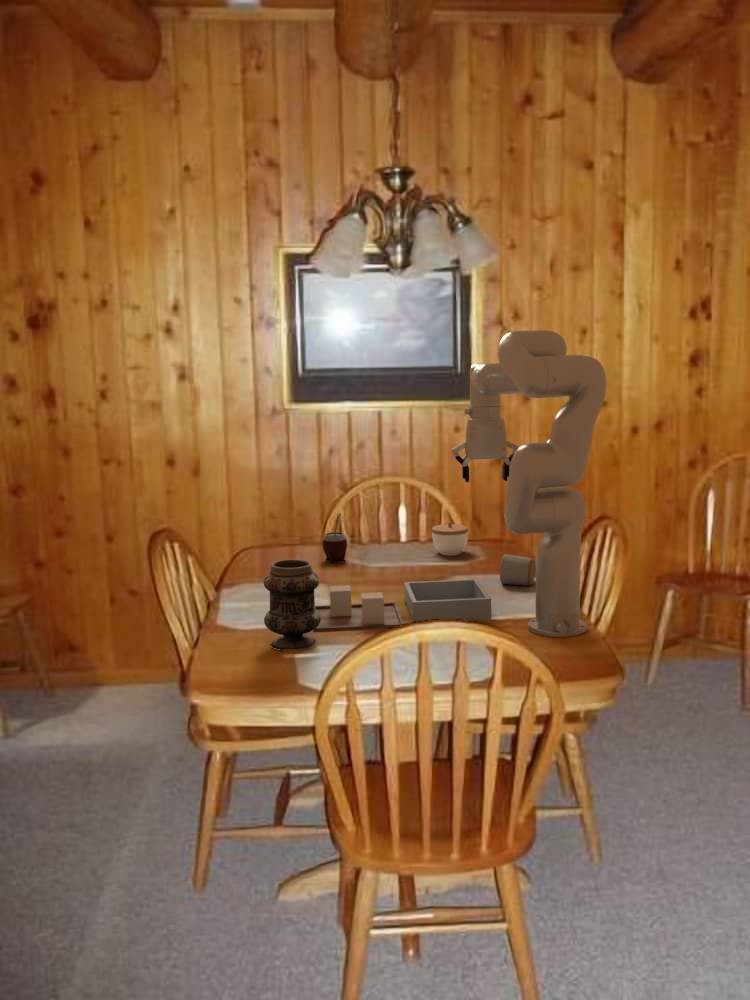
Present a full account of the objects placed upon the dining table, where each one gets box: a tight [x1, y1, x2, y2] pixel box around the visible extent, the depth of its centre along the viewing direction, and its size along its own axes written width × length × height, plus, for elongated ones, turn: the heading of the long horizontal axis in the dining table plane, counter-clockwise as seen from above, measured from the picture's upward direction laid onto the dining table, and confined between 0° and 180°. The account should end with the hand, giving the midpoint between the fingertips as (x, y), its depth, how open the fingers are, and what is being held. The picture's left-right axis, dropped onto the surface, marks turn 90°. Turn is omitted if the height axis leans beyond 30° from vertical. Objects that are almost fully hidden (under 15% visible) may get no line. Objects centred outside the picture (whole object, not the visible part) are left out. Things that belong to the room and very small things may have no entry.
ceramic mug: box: [499, 553, 536, 587], centre depth 255 cm, size 11×8×8 cm
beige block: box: [360, 591, 385, 625], centre depth 222 cm, size 5×5×6 cm
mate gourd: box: [322, 513, 348, 564], centre depth 283 cm, size 8×8×15 cm
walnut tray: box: [313, 601, 405, 632], centre depth 226 cm, size 18×20×1 cm
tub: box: [403, 578, 492, 622], centre depth 231 cm, size 18×18×5 cm
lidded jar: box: [431, 521, 469, 556], centre depth 290 cm, size 11×11×9 cm
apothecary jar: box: [263, 558, 321, 651], centre depth 208 cm, size 12×12×18 cm
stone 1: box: [329, 584, 352, 617], centre depth 229 cm, size 5×5×6 cm
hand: (485, 480), depth 247 cm, fingers open, 9 cm apart
